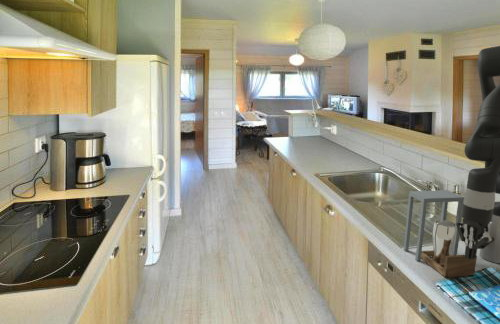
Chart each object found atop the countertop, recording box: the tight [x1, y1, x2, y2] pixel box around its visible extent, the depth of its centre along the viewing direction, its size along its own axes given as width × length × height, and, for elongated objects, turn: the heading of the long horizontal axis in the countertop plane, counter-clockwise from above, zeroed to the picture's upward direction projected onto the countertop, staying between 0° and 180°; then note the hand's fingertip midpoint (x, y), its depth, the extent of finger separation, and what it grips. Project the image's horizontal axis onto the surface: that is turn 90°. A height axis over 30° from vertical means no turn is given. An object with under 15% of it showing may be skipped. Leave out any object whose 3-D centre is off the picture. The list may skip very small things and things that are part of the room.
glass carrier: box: [421, 250, 478, 278], centre depth 116 cm, size 15×10×7 cm
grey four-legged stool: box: [403, 189, 464, 262], centre depth 123 cm, size 9×15×24 cm, turn 96°
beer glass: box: [430, 219, 456, 264], centre depth 117 cm, size 7×7×15 cm
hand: (469, 258), depth 102 cm, fingers closed
